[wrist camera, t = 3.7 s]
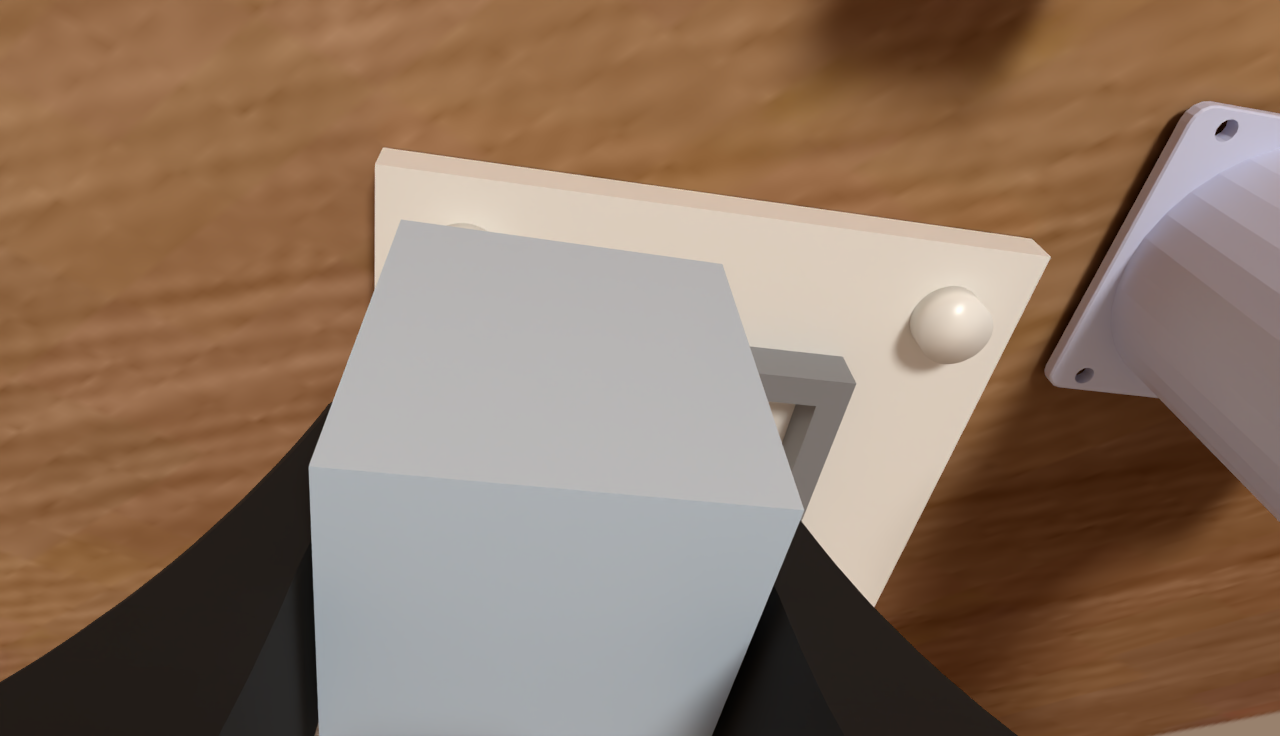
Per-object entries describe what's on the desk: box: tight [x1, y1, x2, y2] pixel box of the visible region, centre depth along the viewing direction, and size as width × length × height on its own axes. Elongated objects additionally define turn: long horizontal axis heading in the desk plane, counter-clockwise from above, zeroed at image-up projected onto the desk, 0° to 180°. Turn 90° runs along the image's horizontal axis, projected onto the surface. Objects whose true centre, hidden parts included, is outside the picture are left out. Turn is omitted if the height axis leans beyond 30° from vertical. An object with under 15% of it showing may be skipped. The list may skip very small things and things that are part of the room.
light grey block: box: [309, 220, 804, 736], centre depth 11 cm, size 4×6×5 cm
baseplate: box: [375, 148, 1051, 607], centre depth 23 cm, size 16×16×2 cm
